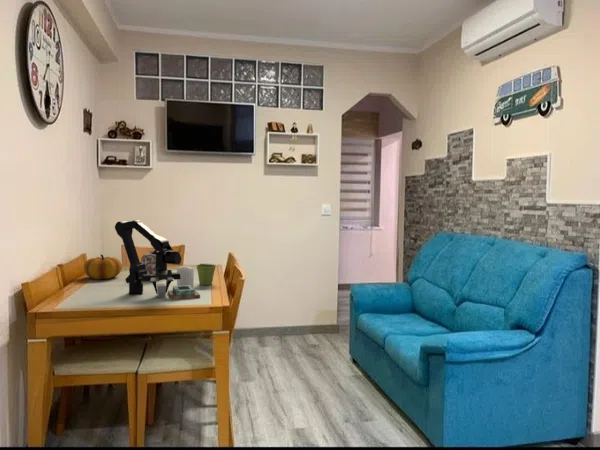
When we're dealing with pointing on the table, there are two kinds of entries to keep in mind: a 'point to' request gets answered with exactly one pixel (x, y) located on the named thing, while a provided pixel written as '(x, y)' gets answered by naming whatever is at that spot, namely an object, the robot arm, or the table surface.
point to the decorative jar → (149, 262)
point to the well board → (183, 292)
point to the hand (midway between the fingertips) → (161, 293)
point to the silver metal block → (161, 290)
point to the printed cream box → (185, 276)
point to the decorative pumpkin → (102, 267)
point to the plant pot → (205, 273)
